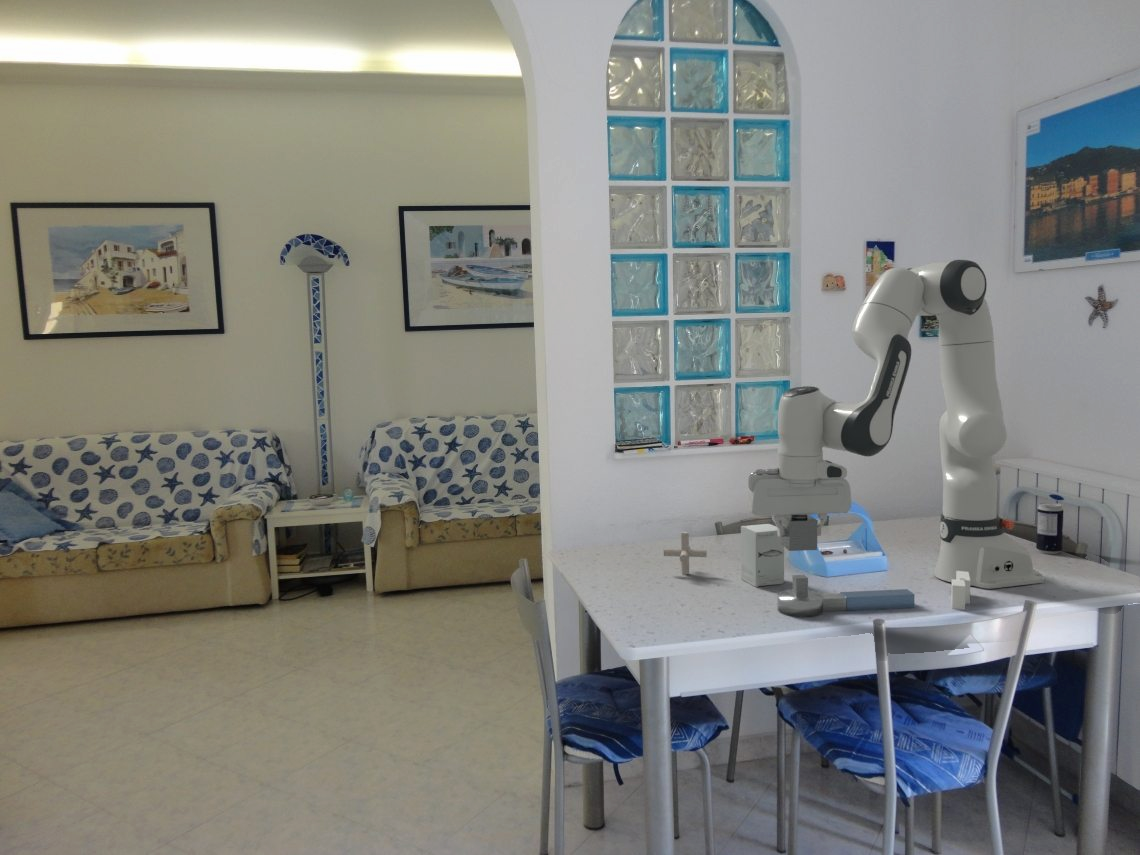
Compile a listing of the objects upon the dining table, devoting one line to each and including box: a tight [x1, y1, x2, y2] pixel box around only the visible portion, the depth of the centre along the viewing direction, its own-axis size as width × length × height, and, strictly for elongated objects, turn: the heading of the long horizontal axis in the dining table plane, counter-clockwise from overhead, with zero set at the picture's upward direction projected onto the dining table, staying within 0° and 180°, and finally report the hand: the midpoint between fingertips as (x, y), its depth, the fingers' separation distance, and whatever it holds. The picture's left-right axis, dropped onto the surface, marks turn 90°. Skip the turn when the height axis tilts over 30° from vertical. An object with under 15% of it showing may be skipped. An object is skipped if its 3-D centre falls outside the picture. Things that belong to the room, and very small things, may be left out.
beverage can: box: [1035, 502, 1064, 555], centre depth 216 cm, size 6×6×12 cm
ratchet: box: [777, 574, 916, 618], centre depth 178 cm, size 28×9×7 cm, turn 93°
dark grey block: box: [780, 514, 818, 552], centre depth 176 cm, size 6×6×7 cm
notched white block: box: [950, 571, 971, 611], centre depth 180 cm, size 15×11×6 cm
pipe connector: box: [663, 531, 708, 576], centre depth 206 cm, size 10×10×10 cm
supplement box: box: [740, 523, 785, 588], centre depth 198 cm, size 7×7×13 cm
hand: (799, 535), depth 177 cm, fingers closed on dark grey block, 6 cm apart
